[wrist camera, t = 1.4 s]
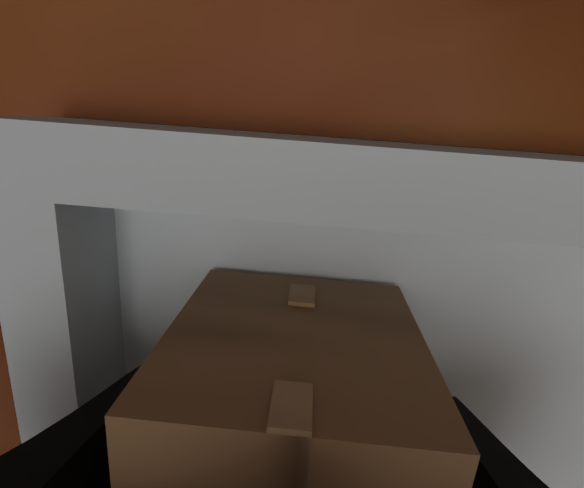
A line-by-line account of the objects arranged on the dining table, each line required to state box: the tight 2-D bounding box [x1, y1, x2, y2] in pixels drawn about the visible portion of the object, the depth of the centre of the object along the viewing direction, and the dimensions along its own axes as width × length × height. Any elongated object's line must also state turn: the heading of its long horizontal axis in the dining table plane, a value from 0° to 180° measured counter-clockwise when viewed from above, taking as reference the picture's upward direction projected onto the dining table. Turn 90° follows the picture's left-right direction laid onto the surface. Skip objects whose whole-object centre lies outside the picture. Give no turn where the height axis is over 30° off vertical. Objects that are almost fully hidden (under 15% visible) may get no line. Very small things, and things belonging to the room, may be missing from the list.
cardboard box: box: [105, 269, 480, 488], centre depth 9 cm, size 7×5×6 cm
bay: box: [0, 116, 584, 488], centre depth 11 cm, size 14×25×3 cm, turn 86°
